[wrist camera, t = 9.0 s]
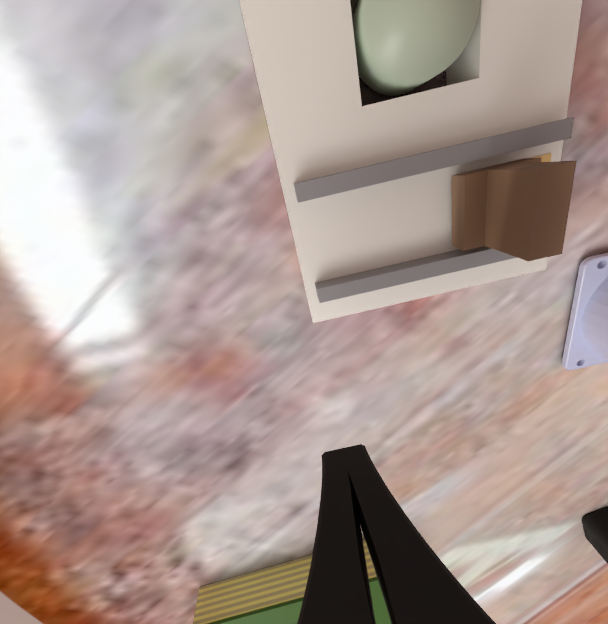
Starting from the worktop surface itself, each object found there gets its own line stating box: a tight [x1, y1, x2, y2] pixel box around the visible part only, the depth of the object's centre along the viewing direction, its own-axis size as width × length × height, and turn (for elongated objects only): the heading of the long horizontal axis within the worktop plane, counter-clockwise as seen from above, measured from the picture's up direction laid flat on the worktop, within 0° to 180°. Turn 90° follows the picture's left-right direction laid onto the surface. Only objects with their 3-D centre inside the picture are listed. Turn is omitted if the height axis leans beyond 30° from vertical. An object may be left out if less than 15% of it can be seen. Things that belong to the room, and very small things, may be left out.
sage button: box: [352, 0, 480, 96], centre depth 11 cm, size 4×4×2 cm
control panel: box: [239, 0, 582, 323], centre depth 11 cm, size 12×22×3 cm, turn 12°
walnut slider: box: [451, 158, 576, 261], centre depth 12 cm, size 3×3×4 cm
